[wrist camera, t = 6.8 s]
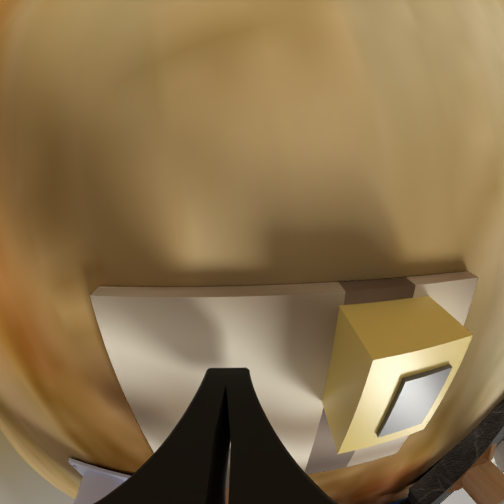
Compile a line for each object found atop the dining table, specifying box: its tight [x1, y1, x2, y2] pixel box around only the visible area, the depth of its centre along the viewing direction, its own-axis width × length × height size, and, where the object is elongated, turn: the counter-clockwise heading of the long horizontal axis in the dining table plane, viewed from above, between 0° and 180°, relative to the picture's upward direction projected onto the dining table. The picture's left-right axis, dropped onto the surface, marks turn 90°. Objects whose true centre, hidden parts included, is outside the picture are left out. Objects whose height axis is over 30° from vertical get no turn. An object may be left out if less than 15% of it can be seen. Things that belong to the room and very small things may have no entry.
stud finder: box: [322, 296, 473, 454], centre depth 8 cm, size 5×4×3 cm
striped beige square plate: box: [90, 271, 478, 474], centre depth 11 cm, size 14×16×1 cm
